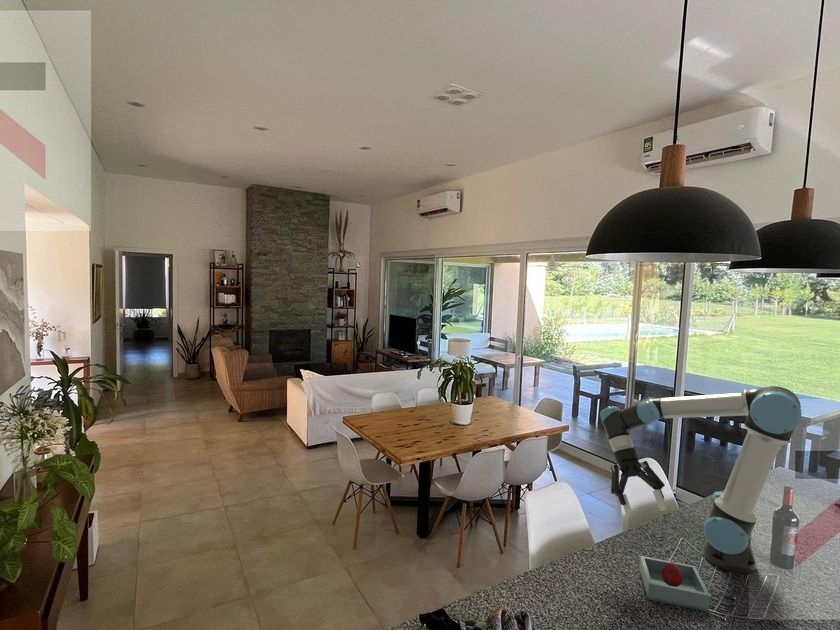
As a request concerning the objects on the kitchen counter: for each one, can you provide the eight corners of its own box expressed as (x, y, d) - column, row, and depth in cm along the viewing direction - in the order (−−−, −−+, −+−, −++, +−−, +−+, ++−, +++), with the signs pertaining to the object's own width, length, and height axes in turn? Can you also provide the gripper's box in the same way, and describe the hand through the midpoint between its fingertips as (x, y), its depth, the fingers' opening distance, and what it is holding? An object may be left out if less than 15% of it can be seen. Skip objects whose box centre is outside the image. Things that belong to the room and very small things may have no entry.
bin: (693, 581, 145) (695, 566, 144) (708, 612, 130) (709, 595, 130) (639, 570, 149) (640, 555, 149) (647, 599, 135) (648, 583, 135)
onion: (685, 594, 136) (686, 568, 136) (664, 591, 137) (665, 566, 137) (678, 582, 142) (679, 557, 142) (658, 580, 143) (659, 555, 143)
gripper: (646, 449, 169) (670, 509, 159) (588, 455, 163) (609, 519, 152) (659, 443, 163) (684, 506, 152) (599, 450, 157) (621, 515, 146)
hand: (647, 512), depth 152 cm, fingers open, 13 cm apart
